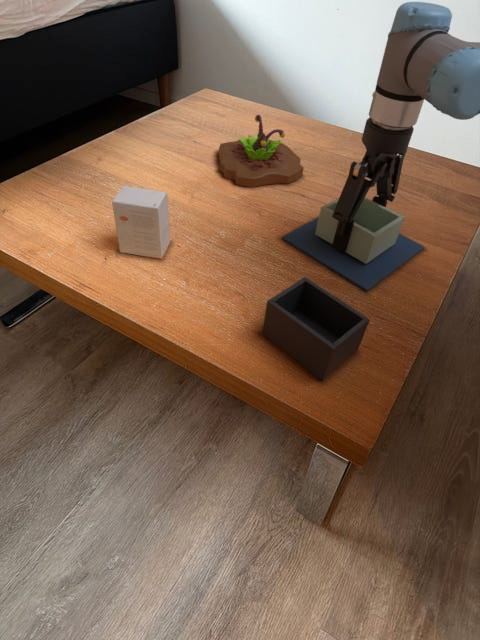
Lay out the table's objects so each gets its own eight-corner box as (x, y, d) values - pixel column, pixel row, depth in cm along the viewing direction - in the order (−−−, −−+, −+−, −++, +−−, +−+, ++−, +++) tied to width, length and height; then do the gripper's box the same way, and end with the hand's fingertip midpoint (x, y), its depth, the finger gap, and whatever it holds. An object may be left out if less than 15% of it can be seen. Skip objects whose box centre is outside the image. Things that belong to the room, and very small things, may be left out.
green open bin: (395, 243, 87) (405, 217, 83) (365, 264, 82) (375, 236, 78) (345, 217, 93) (352, 190, 89) (314, 234, 88) (320, 207, 83)
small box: (170, 242, 84) (168, 191, 77) (162, 260, 80) (158, 208, 73) (129, 235, 85) (123, 184, 77) (118, 252, 81) (111, 200, 73)
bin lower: (357, 351, 68) (370, 319, 63) (322, 381, 64) (333, 349, 59) (297, 309, 74) (305, 276, 69) (261, 334, 69) (267, 300, 64)
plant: (282, 145, 117) (288, 100, 109) (311, 182, 104) (321, 134, 97) (207, 150, 112) (208, 103, 104) (228, 189, 99) (231, 139, 91)
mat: (423, 248, 89) (424, 246, 89) (366, 292, 78) (367, 289, 78) (342, 205, 98) (343, 203, 98) (281, 239, 88) (282, 236, 87)
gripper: (407, 99, 79) (371, 210, 95) (328, 129, 67) (303, 251, 83) (446, 113, 76) (402, 226, 91) (370, 148, 64) (335, 271, 79)
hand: (355, 238), depth 87 cm, fingers closed on green open bin, 10 cm apart
